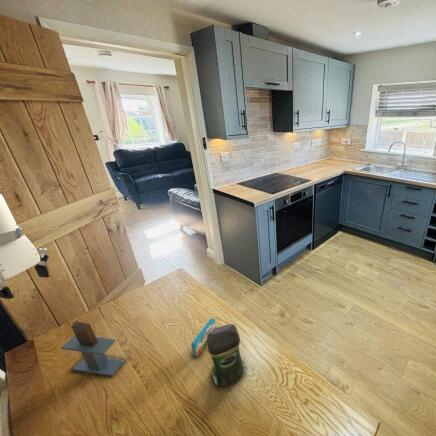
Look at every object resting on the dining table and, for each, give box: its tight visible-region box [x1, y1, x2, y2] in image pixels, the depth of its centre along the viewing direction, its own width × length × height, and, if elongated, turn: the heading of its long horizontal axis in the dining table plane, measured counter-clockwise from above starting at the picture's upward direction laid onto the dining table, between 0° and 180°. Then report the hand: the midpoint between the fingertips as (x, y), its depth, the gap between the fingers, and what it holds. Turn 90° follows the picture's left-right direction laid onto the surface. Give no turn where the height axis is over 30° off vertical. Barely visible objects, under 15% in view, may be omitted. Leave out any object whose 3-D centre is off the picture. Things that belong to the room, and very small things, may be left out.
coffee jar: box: [206, 323, 245, 388], centre depth 73 cm, size 10×8×19 cm
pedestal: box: [60, 335, 125, 377], centre depth 76 cm, size 14×5×11 cm, turn 83°
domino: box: [70, 321, 98, 347], centre depth 72 cm, size 4×2×8 cm, turn 83°
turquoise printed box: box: [190, 317, 217, 357], centre depth 86 cm, size 12×2×6 cm, turn 164°
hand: (27, 286), depth 72 cm, fingers open, 9 cm apart
